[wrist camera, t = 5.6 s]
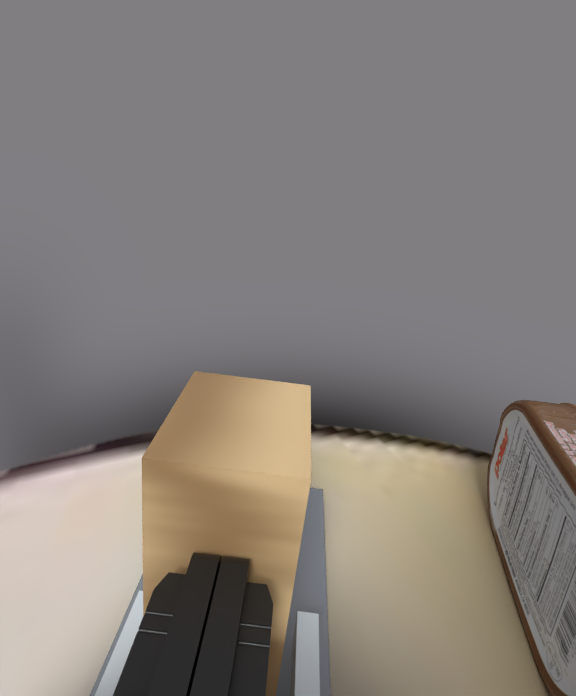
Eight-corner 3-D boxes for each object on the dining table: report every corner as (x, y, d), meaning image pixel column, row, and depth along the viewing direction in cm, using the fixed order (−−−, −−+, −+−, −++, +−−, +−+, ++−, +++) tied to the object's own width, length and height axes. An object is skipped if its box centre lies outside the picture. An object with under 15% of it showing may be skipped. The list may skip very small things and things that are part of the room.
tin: (662, 817, 13) (811, 629, 10) (554, 784, 14) (668, 595, 11) (519, 499, 27) (565, 379, 24) (467, 488, 28) (506, 369, 25)
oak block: (279, 595, 18) (310, 385, 15) (269, 736, 14) (311, 478, 10) (186, 584, 18) (194, 371, 15) (144, 720, 14) (141, 457, 10)
